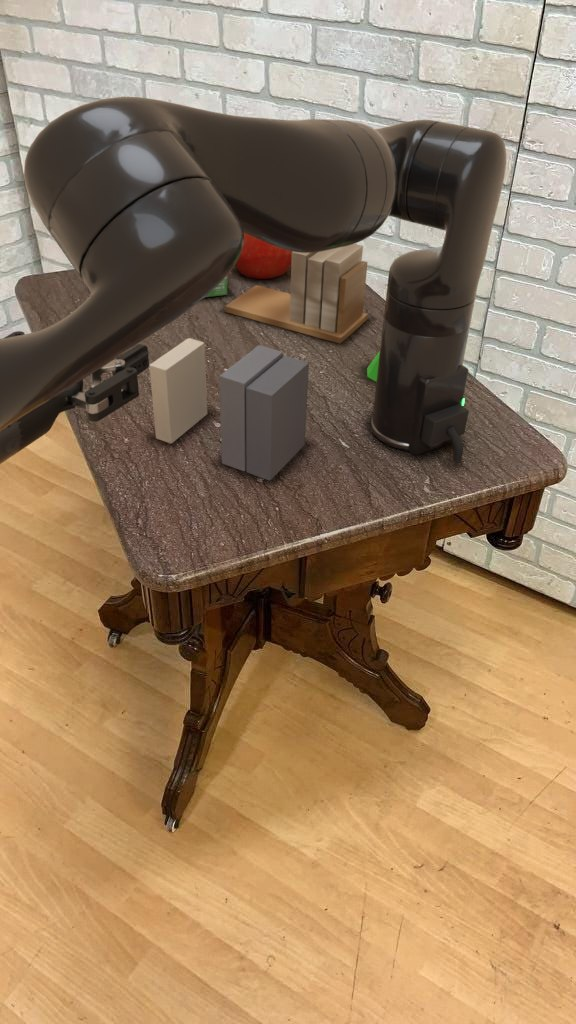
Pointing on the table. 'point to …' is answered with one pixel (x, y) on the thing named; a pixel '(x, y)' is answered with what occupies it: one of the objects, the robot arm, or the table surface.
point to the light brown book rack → (313, 295)
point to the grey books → (263, 411)
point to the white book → (179, 389)
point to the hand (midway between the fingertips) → (109, 342)
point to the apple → (262, 259)
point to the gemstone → (373, 368)
